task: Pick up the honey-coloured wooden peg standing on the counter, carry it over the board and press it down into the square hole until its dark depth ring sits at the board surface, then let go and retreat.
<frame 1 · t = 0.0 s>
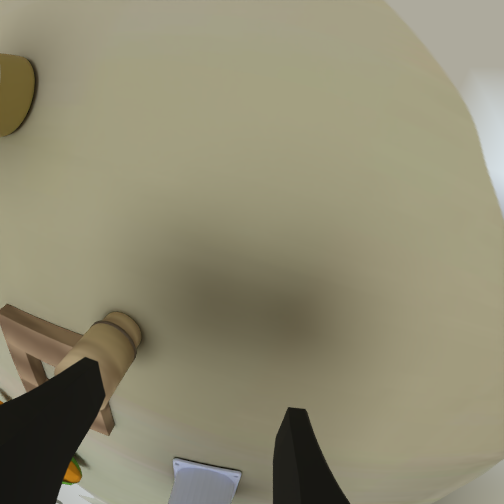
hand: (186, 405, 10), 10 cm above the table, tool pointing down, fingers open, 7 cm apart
board: (58, 370, 25), on the table
peg: (122, 330, 22), on the table
paper tube: (14, 96, 16), on the table
corn: (40, 427, 33), on the table
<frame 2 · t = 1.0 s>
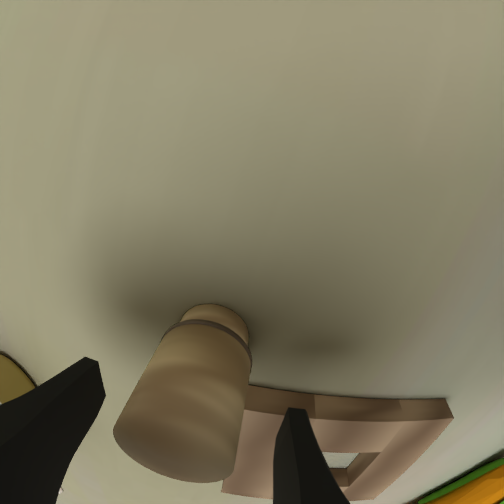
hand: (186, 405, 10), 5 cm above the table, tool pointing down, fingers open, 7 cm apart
board: (325, 451, 17), on the table
peg: (213, 334, 14), on the table
paper tube: (18, 378, 19), on the table
corn: (445, 487, 21), on the table
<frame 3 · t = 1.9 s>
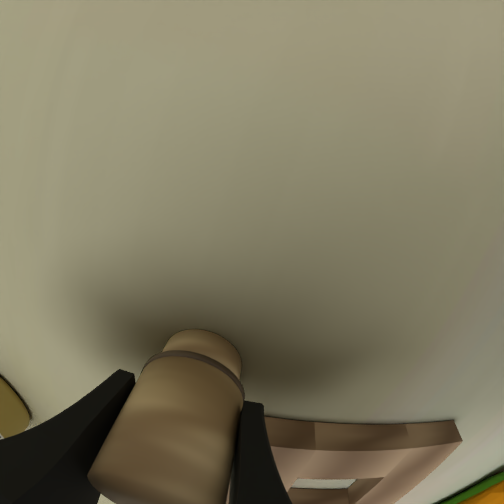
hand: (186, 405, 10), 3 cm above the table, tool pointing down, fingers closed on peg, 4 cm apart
board: (325, 474, 15), on the table
peg: (202, 361, 12), on the table, touching gripper
paper tube: (6, 392, 17), on the table
corn: (447, 500, 19), on the table
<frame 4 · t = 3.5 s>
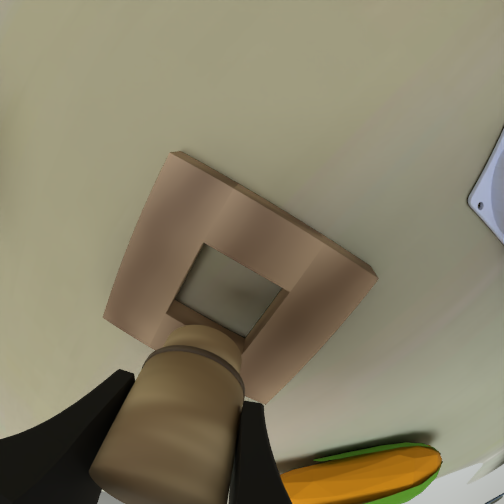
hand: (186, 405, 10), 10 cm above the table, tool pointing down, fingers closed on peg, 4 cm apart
board: (228, 289, 19), on the table
peg: (202, 356, 12), point 7 cm above the table, touching gripper
corn: (344, 457, 25), on the table
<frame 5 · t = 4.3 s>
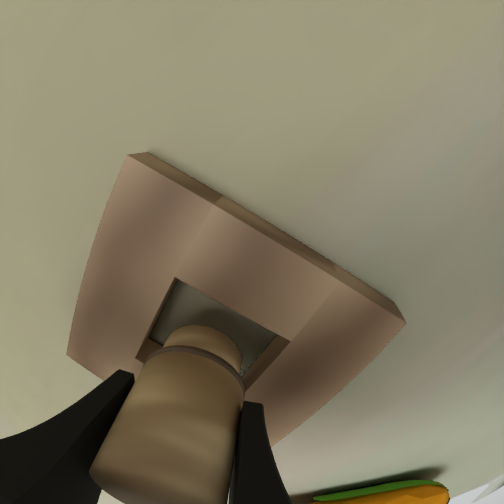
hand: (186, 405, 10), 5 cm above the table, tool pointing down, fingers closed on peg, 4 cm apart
board: (213, 330, 14), on the table
peg: (202, 357, 12), point 2 cm above the table, touching gripper
corn: (346, 493, 21), on the table
when the fingers open (3 cm above the table, at t = 5.1 s): peg stays where it is, resting in board.
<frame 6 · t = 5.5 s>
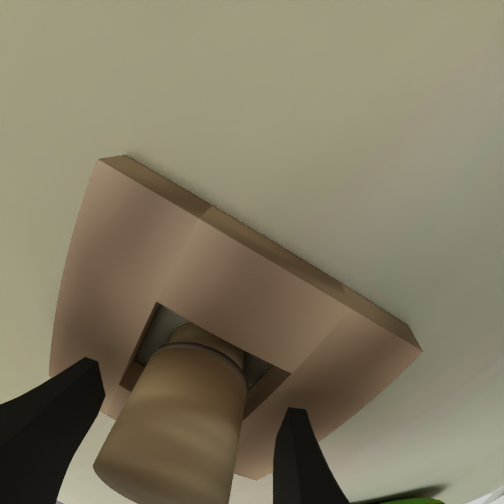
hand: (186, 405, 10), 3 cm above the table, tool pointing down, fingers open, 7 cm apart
board: (204, 355, 13), on the table
peg: (205, 354, 13), resting in board
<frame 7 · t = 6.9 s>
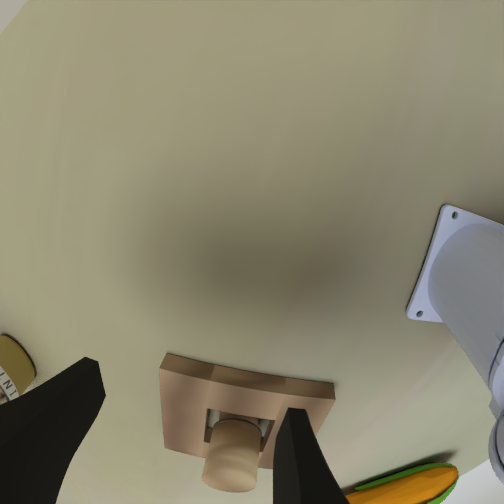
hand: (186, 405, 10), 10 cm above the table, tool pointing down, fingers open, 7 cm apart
board: (239, 417, 24), on the table
peg: (239, 416, 24), resting in board
paper tube: (18, 355, 26), on the table
corn: (381, 480, 28), on the table
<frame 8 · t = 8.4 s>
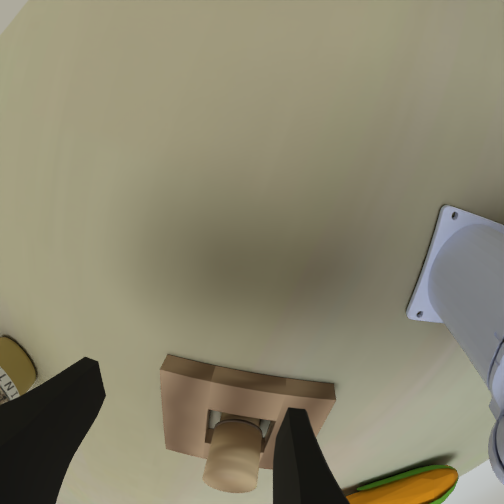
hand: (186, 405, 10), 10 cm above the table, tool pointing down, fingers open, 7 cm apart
board: (240, 418, 24), on the table
peg: (240, 417, 24), resting in board
paper tube: (19, 357, 26), on the table
corn: (381, 481, 28), on the table
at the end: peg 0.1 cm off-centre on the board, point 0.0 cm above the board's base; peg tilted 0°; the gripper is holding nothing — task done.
